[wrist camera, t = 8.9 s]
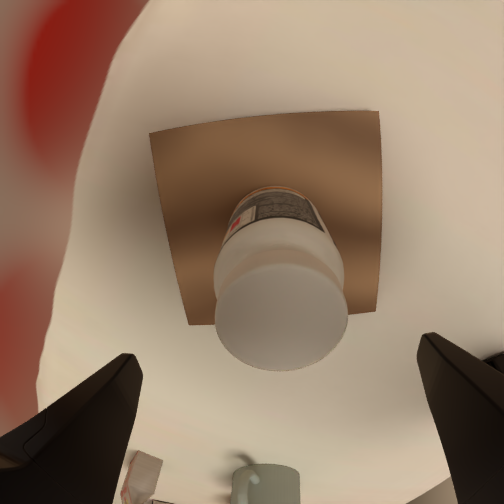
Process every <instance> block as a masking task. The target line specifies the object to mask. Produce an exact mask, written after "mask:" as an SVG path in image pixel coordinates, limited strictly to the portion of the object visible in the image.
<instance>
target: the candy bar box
mask: <svg viewBox="0 0 504 504" xmlns="http://www.w3.org/2000/svg"><path fill="white" fill-rule="evenodd" d="M152 504H173V503H168V502H162V501H157V500H152Z"/></svg>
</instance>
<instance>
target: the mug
mask: <svg viewBox="0 0 504 504" xmlns="http://www.w3.org/2000/svg"><path fill="white" fill-rule="evenodd" d="M230 504H300V476H299V473H298V472H297V471H296V470H295V469H293V468H290V467H287V466H282V465H275V464H256V465H249V466H245V467H242V468H240V469H238V470H236V471H235V472H234V474H233V483H232V492H231V501H230Z"/></svg>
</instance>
